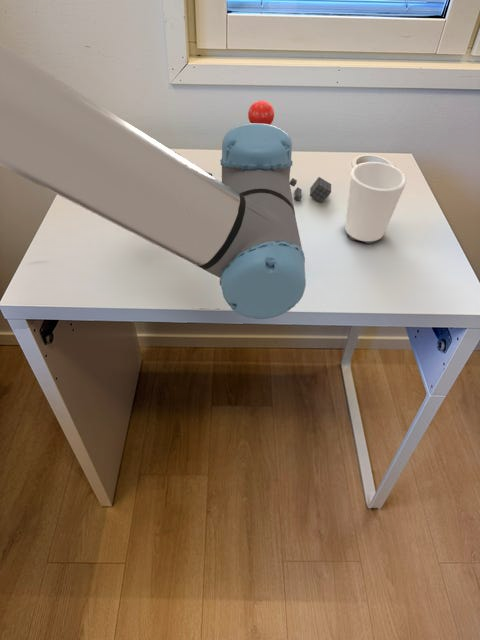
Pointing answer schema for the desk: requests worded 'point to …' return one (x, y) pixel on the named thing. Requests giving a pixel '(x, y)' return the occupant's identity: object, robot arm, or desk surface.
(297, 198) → the building blocks
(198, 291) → the desk surface
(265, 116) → the stacking toy
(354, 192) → the cup
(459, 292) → the desk surface
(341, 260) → the desk surface
